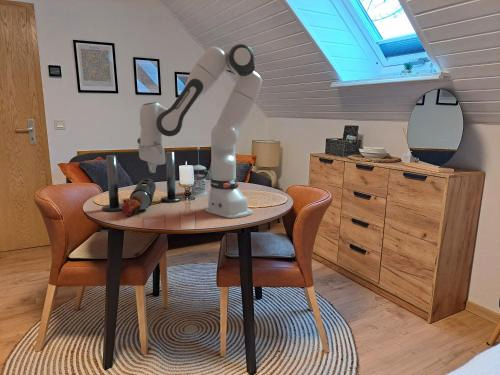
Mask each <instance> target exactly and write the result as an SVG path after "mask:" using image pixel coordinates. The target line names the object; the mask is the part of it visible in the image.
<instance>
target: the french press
mask: <svg viewBox="0 0 500 375" xmlns="http://www.w3.org/2000/svg"><path fill="white" fill-rule="evenodd" d="M196 150H197V151H198V152H197V158H198V159H197V160H198V161H197V163H198V164H197V165H193V166H192V167H193V168H194V170H193V171H198V172H197V173H196V174H193V175H194V180H195V181H194V185H193V186H192V187H191V189H190V190H191V191H190V192H191V194H190V195H192V196H204V195H207V194H208V191H207V184H209V183H210V181H211V178H212V175H211V172H210V170H209V171H208V170H207V168H206V166H203V165H201V164H200V161H199V150H201V147H199V146H197V147H196ZM200 171H205V172H206V173H208V175H209V178H208V180H207V178H206V174H202V173H201V174H200V173H199V172H200Z"/></svg>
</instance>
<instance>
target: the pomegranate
mask: <svg viewBox="0 0 500 375" xmlns="http://www.w3.org/2000/svg"><path fill="white" fill-rule="evenodd" d="M123 203H124V205H123V207H122V213H123V215H125V216H127V217H131V216H132V215H135V214H136V215H138V213H137V212H138V211H140V210H139V209H140V206H141V204H140V203H139V202H138V201H137V200H134V199H130V198H129V199H128V200H126V199H124V200H123Z"/></svg>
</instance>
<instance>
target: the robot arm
mask: <svg viewBox="0 0 500 375" xmlns="http://www.w3.org/2000/svg"><path fill="white" fill-rule="evenodd" d="M224 72H229V73H231V74H234V75H236V80H235V83H234V86H233V87H232V90H231V91H230V93H229V96H228V98H227V100H226V102H225V104H224V106H223V108H222V111H221V113H220V116H219V118H218V119H217V122H216V124H215V125H214V126H213V127H212V129H211V132H210V143H211V144H210V146H211V147H210V148H211V149H210V150H211V151H210V152H211V155H210V157H211V172H210V174H211V180H209V181H210V182H209V183H210V190H209V192H208V196H207V207H206V208H205V212H207V213H210V214H213V215H216V216H220V217H224V218H228V219H233V218H234V219H236V218H242V217H246V216H250V215H252V214H254V211H253V210H252V209H250V208H249V207H248V199H247V197H246V196H245V195H244V194H243V193H242V191H241V190H240V188H239V185H240V184H239V183H240V182H239V181H238V179H237V169H236V168H237V158H236V144H237V142H238V140H239V137H240V135H241V133H242V130H243V129H244V126H245V124H246V121H247V119H248V116H249V114H250V112H251V110H252V108H253V106H254V105H255V102H256V100H257V98H258V96H259V93H260V90H261V87H262V84H263V79H262V77H261V76H260V74H259V73H258V72H257V71H255V55H254V51H253V49H252V48H251V47H250V46H249V45H247V44H244V43H238V44H236V45H233V46H232V48H230V49H229V50H228V51H224V50H223V49H221V48H220V47H217V46H211V47H209V48H208V49H207V50H206V51H205V52H204V53H203V54H202V55H201V57H199V58H198V60H197V61H196V63H195V64H194V66H193V68H192V69H191V70H190V73H189V75H188V77H187V80H186V83H185V85H184V88H183V89H182V91H181V92H180V94H179V95H178V96H177V98H176V99H175V101H174V103H172V105H171V106H170V107H169V108H166V107H165V106H164V105H161V104H160V103H159V102H155V101H154V102H148V103H143V104H142V105H141V106H140V109H139V125H140V136H139V137H138V138H137V139H136V141H137V142H136V143H137V144H138V155H139V156H138V157H139V160H142V161H145V162H147V166H148V169H149V170H148V171H149V173H152V174H155V173H156V171H157V170H156V168H157V167H158V166H162V165H165V164H166V152H165V148H164V146H163V142H162V141H163V139H162V138H163V136H162V135H164V137H174V136H177V135H178V134H179V133H180V131H181V130H182V127H183V126H184V118H185V116H186V114H187V113H189V111H190V109H191V107H192V106H193V105H194V104H195V102H196V101H197V100H198V99H199V98H200V97H201V96H203V95H205V94H206V93H207V92H209V90H211V88H212V87H214V85H215V84H216V82H217V81H218V80H219V78H220V77H221V76H222V74H223V73H224Z"/></svg>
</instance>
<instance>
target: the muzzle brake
mask: <svg viewBox="0 0 500 375" xmlns="http://www.w3.org/2000/svg"><path fill="white" fill-rule="evenodd" d="M156 188H157V187H156V182H155V181H154V180H153V179H151V178H148V177H147V178H145V177H144V178H142V179H141V180H139V182H138V183H137V185H136V187H135V188H134V189H133V191H132V192H131V193H130V195H129V200H130V199H134V200H137V201H138V202H139V203H140V204H141V206H140V209H139V210H138V211H140V210H147V209H148V208H150V206H151V205H152V204H153V198H154V194H155V192H156V190H157V189H156Z"/></svg>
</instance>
